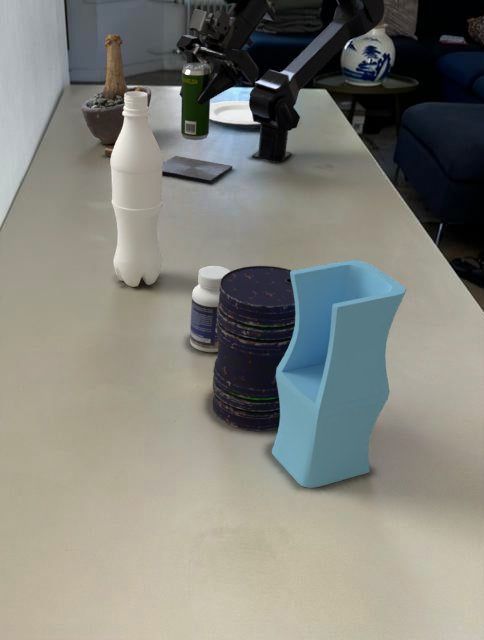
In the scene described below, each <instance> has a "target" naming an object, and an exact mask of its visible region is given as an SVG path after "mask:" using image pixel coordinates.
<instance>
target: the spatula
mask: <svg viewBox="0 0 484 640" xmlns="http://www.w3.org/2000/svg"><path fill="white" fill-rule="evenodd" d="M113 148H114V146H112V145H106V146H105V148H104V155H105V156H106V157H109V158H111V154H112V151H113ZM232 171H233V165H231V164H223V163H217V162H212V161H207V160H203V159H202V160H201V159H196V158H191V157H185V156H178V155H175V156H173V157H171V158H169V159H167V160H166V161H163V166H162V176H165V177H171V178H176V179H181V180H185V181H192V182H197V183H201V184H208V185H212V184H213V183H214V182H216V181H218V180H219V179H221V178H222V177H224V176H225V175H227V174H228V173H230V172H232Z"/></svg>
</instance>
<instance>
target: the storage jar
mask: <svg viewBox="0 0 484 640" xmlns="http://www.w3.org/2000/svg"><path fill="white" fill-rule="evenodd" d="M291 271H293V269H289V268H284V267H280V266H273V265H250V266H243V267H239V268H235V269H233V270H230V272H228V273H227V274H225V275H224V276H223V277H222V279H221V281H220V295H219V303H218V307H217V323H216V328H217V335H218V337H219V341H218V352H217V357H216V359H215V361H214V365H213V370H212V373H213V376H212V390H213V391H212V395H213V397H212V403H211V404H212V411H213V412H214V415H215V416H216V417H217V418H218V419H219V420H220V421H222V422H223V423H225V424H226V425H229V426H231V427H234V428H237V429H240V430H245V431H251V432H252V431H254V432H260V431H261V432H263V431H264V432H265V431H271V430H276V429H279V422H280V401H279V393H278V387H277V381H276V370H277V367H278V365H279V364H280V362H281V360H282V358H283V357H284V355H285V353H286V351H287V349H288V347H289V344H290V342H291V339H292V336H293V332H294V328H295V315H296V312H295V299H294V293H293V287H292V282H291V276H290V272H291Z"/></svg>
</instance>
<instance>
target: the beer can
mask: <svg viewBox="0 0 484 640" xmlns="http://www.w3.org/2000/svg"><path fill="white" fill-rule="evenodd" d="M211 74H212V70H211V65H210V63H209V64H206V63H187V62H186V63H184V64H183V67H182V71H181V87H182V97H181V110H180V112H181V115H180V116H181V117H180V120H181V121H180V133H181V136H182V138H184V139H185V140H189V141H201V140H205V139H207V138H208V136H209V134H210V120H209V116H210V104H211V99H210V100H209V101H207V102H205V103H204V104H202V105H200V104H199V103H198V102H197V100H198V98H199V96H200V94H201V92H202V90H203V88H204V86H205V85H206V83H207V81H208V80H209V78H210V76H211Z"/></svg>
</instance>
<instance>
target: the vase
mask: <svg viewBox="0 0 484 640" xmlns="http://www.w3.org/2000/svg"><path fill="white" fill-rule="evenodd" d="M290 276H291V282H292V287H293V293H294V299H295V312H296V315H295V328H294V332H293V336H292V339H291V342H290V344H289V347H288V349H287V351H286V353H285V355H284V357H283V358H282V360H281V362H280V364H279V365H278V367H277V370H276V381H277V387H278V393H279V401H280V422H279V428H277V433H276V438H275V440H274V444H273V446H272V449H271V454H272V456H273V457H274V458H275V459H276V460H277V461H278V463H279V464H280V465H281V466H282V467H283V468H284V469H285V470H286V471H287V473H288V474H289V475H290V476H291V477H292V478H293V479H294V480H295V482H297V484H298V485H300V486H301V487H303V488H307V489H308V488H309V489H314V488H320V487H324V486H327V485H330V484H333V483H334V484H335V483H337V482H340V481H344V480H348V479H352V478H355V477H359V476H361V475H365V474H369V473H370V471H371V470H370V459H369V455H370V454H369V450H370V439H371V435H372V432H373V429H374V426H375V424H376V423H377V420H378V417H379V416H380V414H381V412H382V410H383V408H384V407H385V405H386V403H387V401H388V400H389V395H390V383H389V379H388V372H387V364H386V363H387V359H386V354H387V353H386V352H387V343H388V337H389V334H390V330H391V327H392V324H393V322H394V319H395V316H396V314H397V312H398V310H399V307H400V306H401V303H402V301H403V298H404V297H405V295H406V292H407V288H406V286H404V285H403V284H402V283H400V282H398V281H397V280H395V279H394V278H392V277H391V276H389V275H387V274H386V273H384V272H383V271H381V270H380V269H379V268H377V267H376V266H374V265H372V264H371V263H369V262H367V261H363V260H358V259H350V260H343V261H338V262H337V261H336V262H333V263H326V264H322V265H321V264H320V265H316V266H310V267H306V268H300V269H293V270H292V271H291V272H290Z"/></svg>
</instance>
